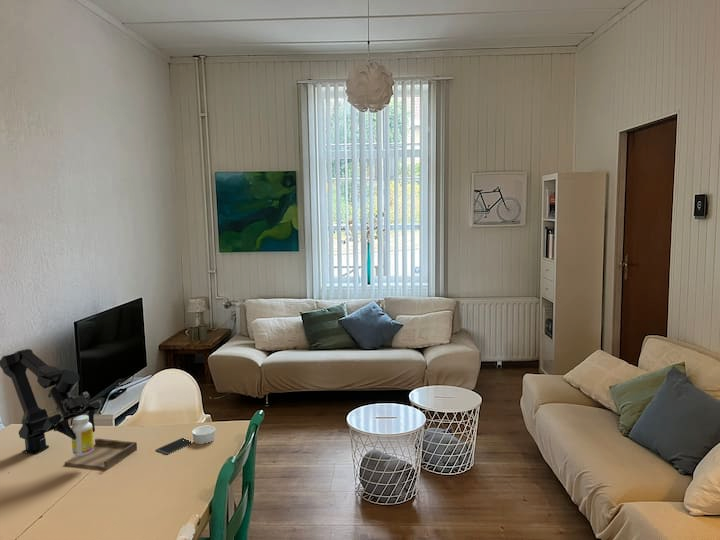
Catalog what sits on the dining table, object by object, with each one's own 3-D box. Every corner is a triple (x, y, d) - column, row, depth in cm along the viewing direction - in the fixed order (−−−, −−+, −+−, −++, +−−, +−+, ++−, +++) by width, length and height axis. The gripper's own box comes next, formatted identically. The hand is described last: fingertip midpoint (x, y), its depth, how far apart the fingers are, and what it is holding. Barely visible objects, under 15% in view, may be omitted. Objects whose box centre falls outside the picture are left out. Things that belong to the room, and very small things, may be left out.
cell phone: (197, 442, 201) (197, 440, 201) (166, 456, 189) (166, 454, 189) (185, 438, 205) (185, 436, 205) (154, 451, 193) (154, 449, 193)
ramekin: (220, 438, 203) (220, 428, 203) (203, 447, 196) (202, 436, 195) (205, 434, 208) (204, 423, 207) (187, 442, 200) (187, 431, 200)
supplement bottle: (97, 447, 184) (95, 413, 182) (88, 456, 177) (86, 420, 176) (78, 448, 183) (76, 414, 182) (69, 457, 177) (66, 421, 175)
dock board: (64, 465, 183) (64, 457, 183) (97, 445, 198) (96, 438, 198) (107, 469, 179) (106, 461, 178) (137, 449, 194) (136, 442, 194)
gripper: (45, 395, 172) (67, 433, 167) (97, 379, 188) (118, 413, 184) (34, 413, 176) (55, 450, 172) (85, 396, 192) (105, 430, 188)
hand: (84, 435), depth 179 cm, fingers closed on supplement bottle, 7 cm apart
